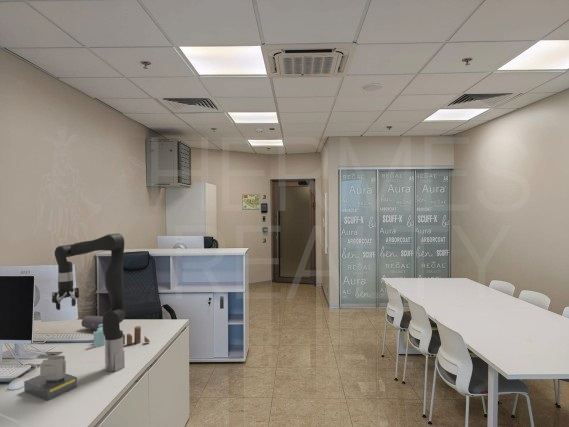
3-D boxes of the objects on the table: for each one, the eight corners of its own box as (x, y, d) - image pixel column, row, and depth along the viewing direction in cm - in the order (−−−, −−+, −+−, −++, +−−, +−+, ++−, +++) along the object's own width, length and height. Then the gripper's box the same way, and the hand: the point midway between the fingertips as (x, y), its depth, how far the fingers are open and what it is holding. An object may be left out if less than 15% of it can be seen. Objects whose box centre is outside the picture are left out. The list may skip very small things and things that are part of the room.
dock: (77, 387, 176) (77, 377, 176) (47, 400, 164) (47, 390, 163) (53, 379, 185) (53, 369, 184) (24, 391, 172) (24, 381, 172)
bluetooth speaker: (80, 330, 258) (80, 317, 258) (91, 326, 267) (90, 313, 267) (105, 333, 252) (105, 319, 252) (115, 329, 261) (115, 316, 261)
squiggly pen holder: (110, 345, 231) (110, 330, 231) (93, 347, 227) (93, 333, 227) (112, 336, 247) (111, 322, 247) (96, 338, 243) (96, 324, 243)
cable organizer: (46, 376, 176) (46, 355, 176) (68, 376, 177) (68, 355, 177) (38, 382, 171) (38, 360, 170) (61, 382, 171) (61, 360, 171)
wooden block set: (119, 349, 224) (119, 333, 223) (118, 343, 231) (119, 328, 231) (149, 344, 232) (150, 329, 231) (148, 339, 240) (148, 324, 239)
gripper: (56, 282, 195) (57, 311, 195) (81, 278, 208) (82, 305, 208) (48, 281, 198) (49, 310, 199) (73, 277, 211) (74, 304, 211)
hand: (66, 307), depth 203 cm, fingers open, 8 cm apart
